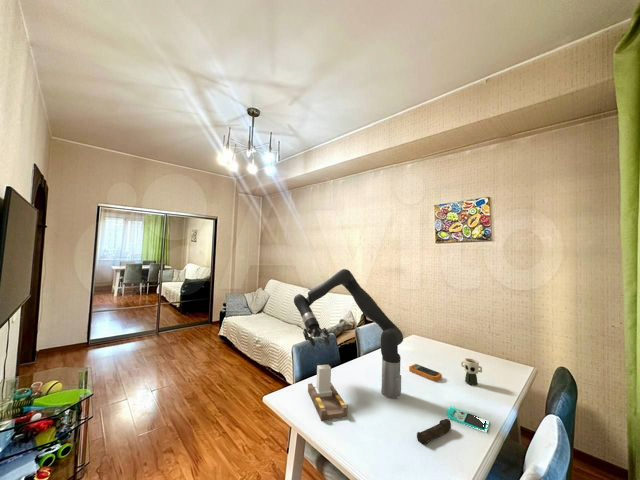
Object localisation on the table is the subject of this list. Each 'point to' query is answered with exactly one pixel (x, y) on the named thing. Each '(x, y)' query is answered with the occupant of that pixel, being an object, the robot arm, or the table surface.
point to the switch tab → (323, 381)
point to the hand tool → (434, 431)
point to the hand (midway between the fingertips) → (321, 345)
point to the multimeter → (425, 372)
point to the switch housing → (328, 404)
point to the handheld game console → (465, 418)
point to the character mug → (471, 370)
